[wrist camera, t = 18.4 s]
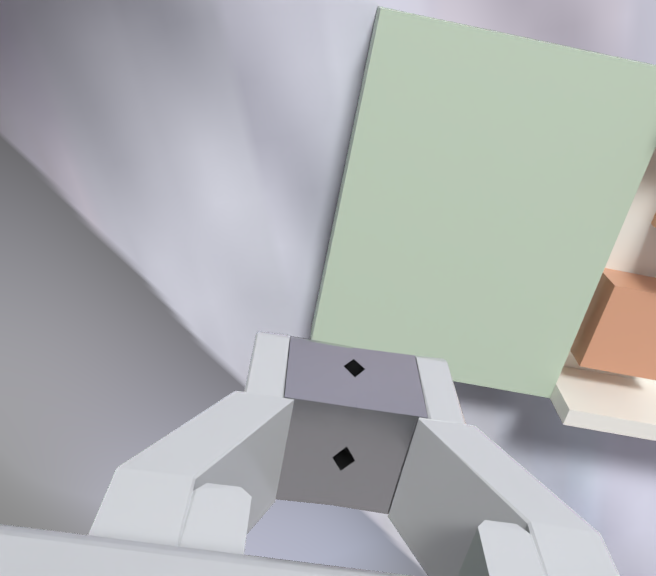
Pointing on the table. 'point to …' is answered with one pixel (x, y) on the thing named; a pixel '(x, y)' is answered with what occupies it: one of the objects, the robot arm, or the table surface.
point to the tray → (607, 387)
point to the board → (481, 198)
